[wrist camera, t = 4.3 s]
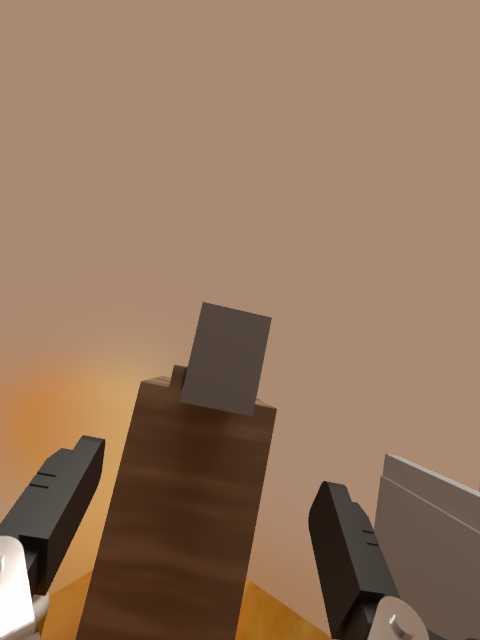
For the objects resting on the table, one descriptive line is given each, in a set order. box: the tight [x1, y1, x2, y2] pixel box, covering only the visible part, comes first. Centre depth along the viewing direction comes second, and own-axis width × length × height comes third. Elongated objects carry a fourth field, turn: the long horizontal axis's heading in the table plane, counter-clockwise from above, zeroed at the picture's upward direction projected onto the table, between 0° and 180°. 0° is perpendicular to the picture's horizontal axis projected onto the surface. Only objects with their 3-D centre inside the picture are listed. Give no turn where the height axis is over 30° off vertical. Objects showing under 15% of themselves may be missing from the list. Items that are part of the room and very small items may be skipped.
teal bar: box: [180, 302, 272, 416], centre depth 28 cm, size 24×4×5 cm, turn 7°
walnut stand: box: [76, 365, 277, 640], centre depth 28 cm, size 14×10×34 cm
